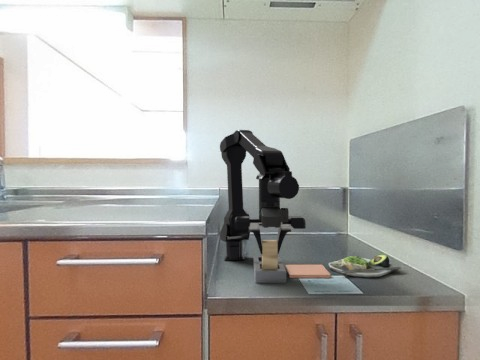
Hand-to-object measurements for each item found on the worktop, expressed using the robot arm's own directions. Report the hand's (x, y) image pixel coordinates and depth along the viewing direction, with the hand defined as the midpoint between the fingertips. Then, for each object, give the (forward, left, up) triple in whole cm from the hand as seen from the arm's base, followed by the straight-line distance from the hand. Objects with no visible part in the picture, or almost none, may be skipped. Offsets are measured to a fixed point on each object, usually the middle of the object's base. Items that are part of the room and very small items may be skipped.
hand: (269, 254), depth 101 cm
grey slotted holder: (-4, 0, -6) cm, 8 cm away
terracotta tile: (-5, +11, -6) cm, 14 cm away
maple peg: (0, 0, -5) cm, 5 cm away
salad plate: (-8, +28, -7) cm, 30 cm away
